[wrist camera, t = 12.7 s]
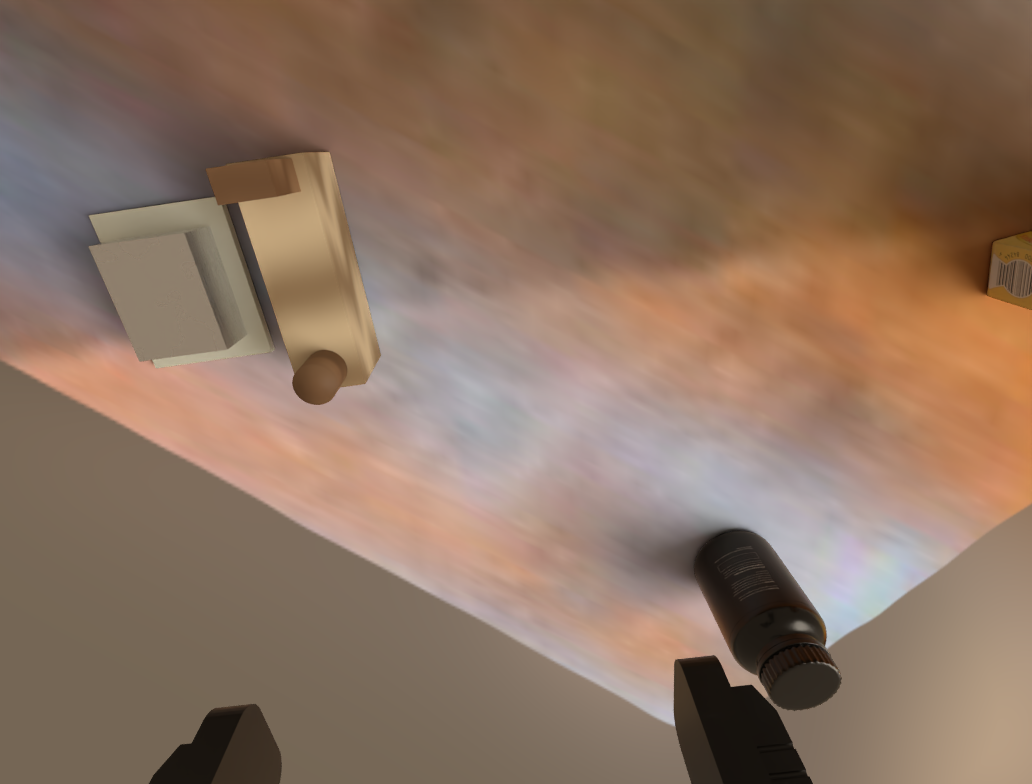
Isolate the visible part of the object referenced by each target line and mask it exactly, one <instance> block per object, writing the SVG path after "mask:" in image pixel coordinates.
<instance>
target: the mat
mask: <svg viewBox="0 0 1032 784" xmlns="http://www.w3.org/2000/svg"><path fill="white" fill-rule="evenodd" d="M89 218H90V220H91V222H92V224H93V227H94V229H95V231H96V234H97V236H98V238H99V240H100V243H104V242H108V241H113V240H117V239H121V238H128V237H135V236H142V235H149V234H156V233H164V232H171V231H178V230H185V229H192V228H199V227H207V226H210V228H211V231H212V234H213V237H214V240H215V243H216V245H217V248H218V251H219V254H220V257H221V260H222V263H223V266H224V268H225V271H226V274H227V277H228V280H229V283H230V286H231V288H232V291H233V294H234V297H235V300H236V303H237V306H238V309H239V311H240V314H241V317H242V320H243V323H244V326H245V329H246V332H247V334H248V335H246V336H245V337H244V338H242V339H241V340H240V341H238V342H237V343H236V344H234V345H233V346H232V347H230V348H229V349H228V350H222V351H214V352H207V353H200V354H192V355H185V356H177V357H170V358H162V359H155V360H152V361H153V363H154V365H155V367H156V368H163V367H170V366H177V365H184V364H191V363H198V362H205V361H212V360H219V359H226V358H233V357H241V356H248V355H255V354H262V353H269V352H272V351H273V350H275V348H274V345H273V342H272V339H271V336H270V333H269V330H268V327H267V324H266V321H265V318H264V315H263V312H262V309H261V306H260V303H259V300H258V297H257V294H256V291H255V288H254V285H253V282H252V279H251V276H250V274H249V271H248V268H247V265H246V262H245V259H244V256H243V253H242V250H241V247H240V244H239V241H238V238H237V235H236V232H235V229H234V226H233V223H232V220H231V217H230V214H229V211H228V208H227V205H226V204H225V205H218V204H217V201H216V198H215V197H210V198H203V199H197V200H190V201H183V202H176V203H170V204H163V205H156V206H149V207H142V208H136V209H129V210H122V211H115V212H109V213H102V214H95V215H89Z"/></svg>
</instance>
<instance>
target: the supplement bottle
mask: <svg viewBox="0 0 1032 784" xmlns="http://www.w3.org/2000/svg"><path fill="white" fill-rule="evenodd" d="M694 574H695V577H696V580H697V582H698V584H699V587H700V589H701V591H702V593H703V595H704V597H705V599H706V601H707V603H708V606H709V608H710V610H711V612H712V614H713V616H714V618H715V620H716V622H717V624H718V626H719V629H720V631H721V633H722V635H723V637H724V639H725V641H726V643H727V645H728V647H729V649H730V651H731V653H732V655H733V657H734V659H735V660H736V661H737V663H738V664H739V665H740V666H741V667H742V668H744V669H745V670H747V671H748V672H750V673H752V674H754V675H757V676H758V678H759V680H760V682H761V683H762V685H763V686H764V687H765V689H766V691H767V693H768V695H769V697H770V699H771V700H772V701H773V703H775V704H776V705H777V706H779V707H781V708H783V709H787V710H794V711H795V710H803V709H809V708H812V707H816V706H817V705H821V704H822V703H824V702H825V701H827V700H828V699H829V698H831V697H832V696H833V694H835V693H836V692H837V690H838V689H839V687H840V684H841V679H842V678H841V673H840V671H839V669H838V668H837V666H836V664H835V663H834V661H833V660H832V658H831V655H830V653H829V651H828V650H827V649H826V647H825V644H826V638H827V633H826V627H825V624H824V621H823V619H822V618H821V616H820V615H819V613H818V612H817V610H816V609H815V607H814V606H813V604H812V603H811V602H810V600H809V599H808V597H807V596H806V594H805V593H804V592H803V590H802V589H801V587H800V586H799V585H798V583H797V582H796V580H795V579H794V577H793V576H792V575H791V573H790V572H789V570H788V569H787V568H786V566H785V565H784V563H783V562H782V560H781V559H780V558H779V556H778V555H777V553H776V552H775V551H774V549H773V548H772V547H771V545H770V544H769V543H768V542H767V541H766V540H765V539H764V538H762V537H761V536H759V535H757V534H755V533H752V532H747V531H733V532H728V533H724V534H721V535H719V536H717V537H715V538H713V539H712V540H710V541H709V542H708V543H706V544H705V545H704V546H703V548H702V549H701V550H700V551H699V553H698V555H697V557H696V560H695V564H694Z"/></svg>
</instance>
